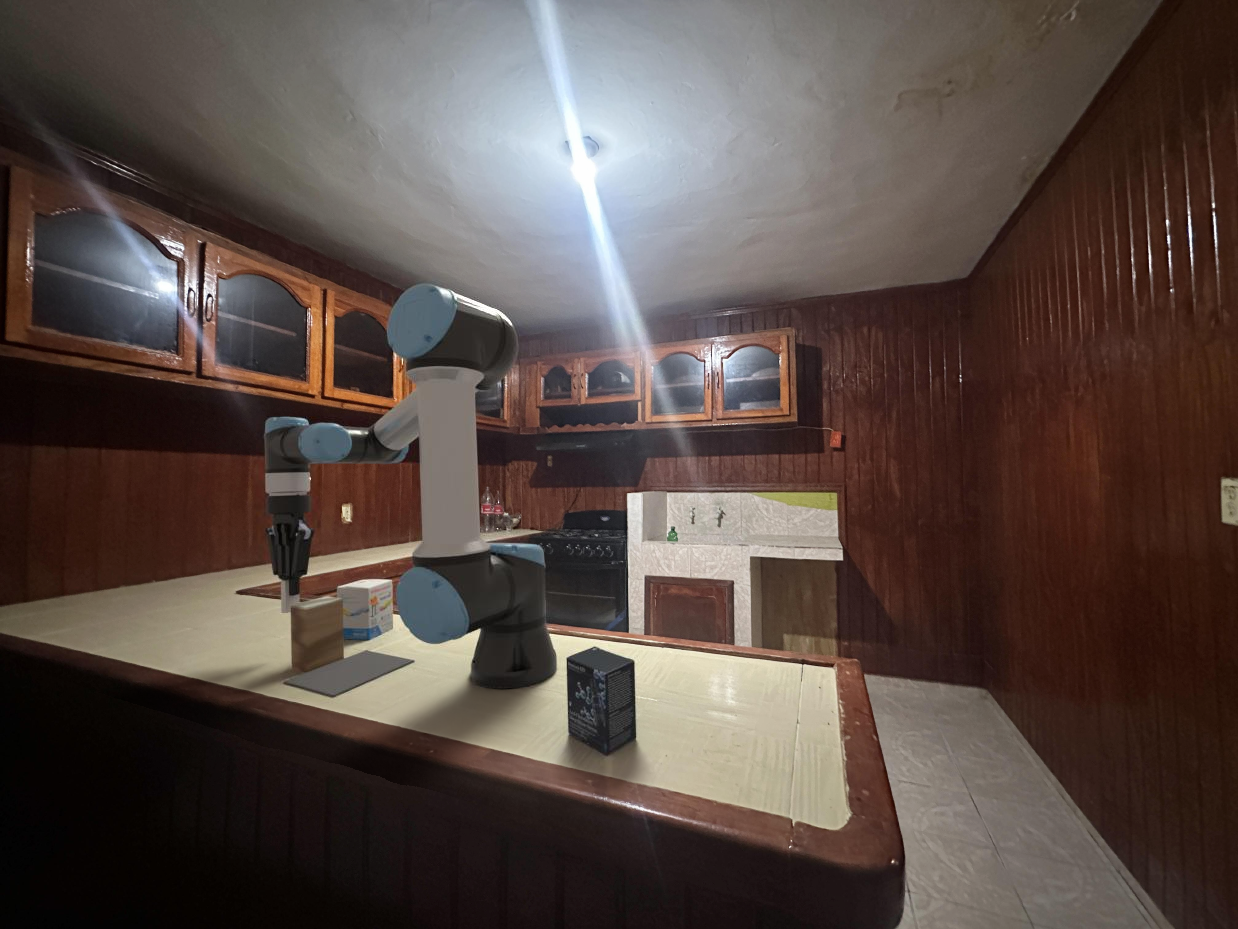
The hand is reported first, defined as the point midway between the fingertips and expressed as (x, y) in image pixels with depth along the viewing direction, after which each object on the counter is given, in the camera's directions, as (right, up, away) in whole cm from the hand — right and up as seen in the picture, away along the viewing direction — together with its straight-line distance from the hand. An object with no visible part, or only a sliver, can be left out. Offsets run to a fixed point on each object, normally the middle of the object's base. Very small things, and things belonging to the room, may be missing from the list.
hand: (290, 611), depth 98 cm
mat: (+17, -9, -8) cm, 21 cm away
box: (+64, -7, -33) cm, 72 cm away
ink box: (+8, -10, +14) cm, 19 cm away
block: (+8, -9, -4) cm, 13 cm away
